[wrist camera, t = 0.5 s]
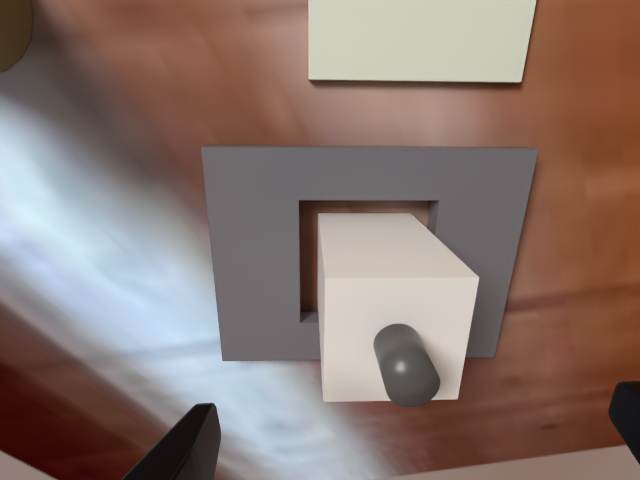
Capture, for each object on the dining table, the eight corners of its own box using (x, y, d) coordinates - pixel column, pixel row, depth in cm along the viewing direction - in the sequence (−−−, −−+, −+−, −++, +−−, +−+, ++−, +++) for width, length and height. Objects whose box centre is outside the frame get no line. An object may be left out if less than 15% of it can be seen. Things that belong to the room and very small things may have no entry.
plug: (410, 213, 19) (513, 309, 9) (402, 295, 20) (483, 447, 11) (318, 213, 19) (329, 311, 9) (317, 295, 20) (325, 451, 11)
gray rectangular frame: (523, 147, 18) (538, 149, 17) (484, 344, 22) (494, 357, 21) (207, 144, 17) (200, 146, 16) (227, 348, 21) (222, 361, 20)
